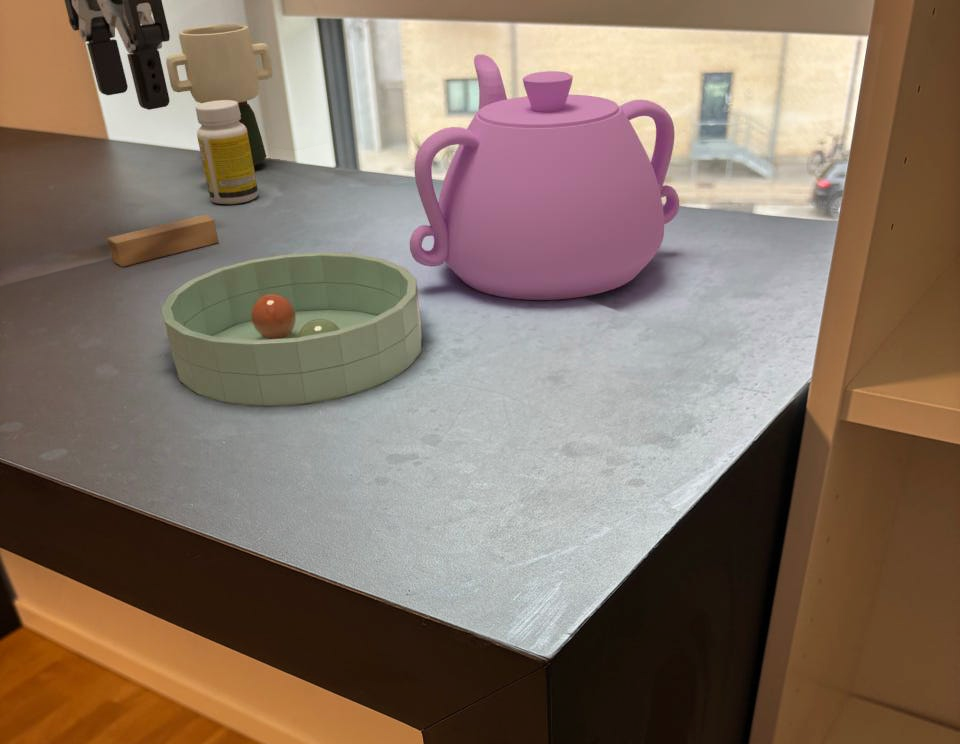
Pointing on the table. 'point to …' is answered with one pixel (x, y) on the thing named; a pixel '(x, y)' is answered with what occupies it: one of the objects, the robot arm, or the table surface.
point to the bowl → (295, 329)
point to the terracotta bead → (273, 316)
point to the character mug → (223, 71)
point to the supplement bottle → (225, 153)
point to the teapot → (546, 191)
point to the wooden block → (162, 240)
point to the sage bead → (317, 327)
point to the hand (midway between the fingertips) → (134, 100)
